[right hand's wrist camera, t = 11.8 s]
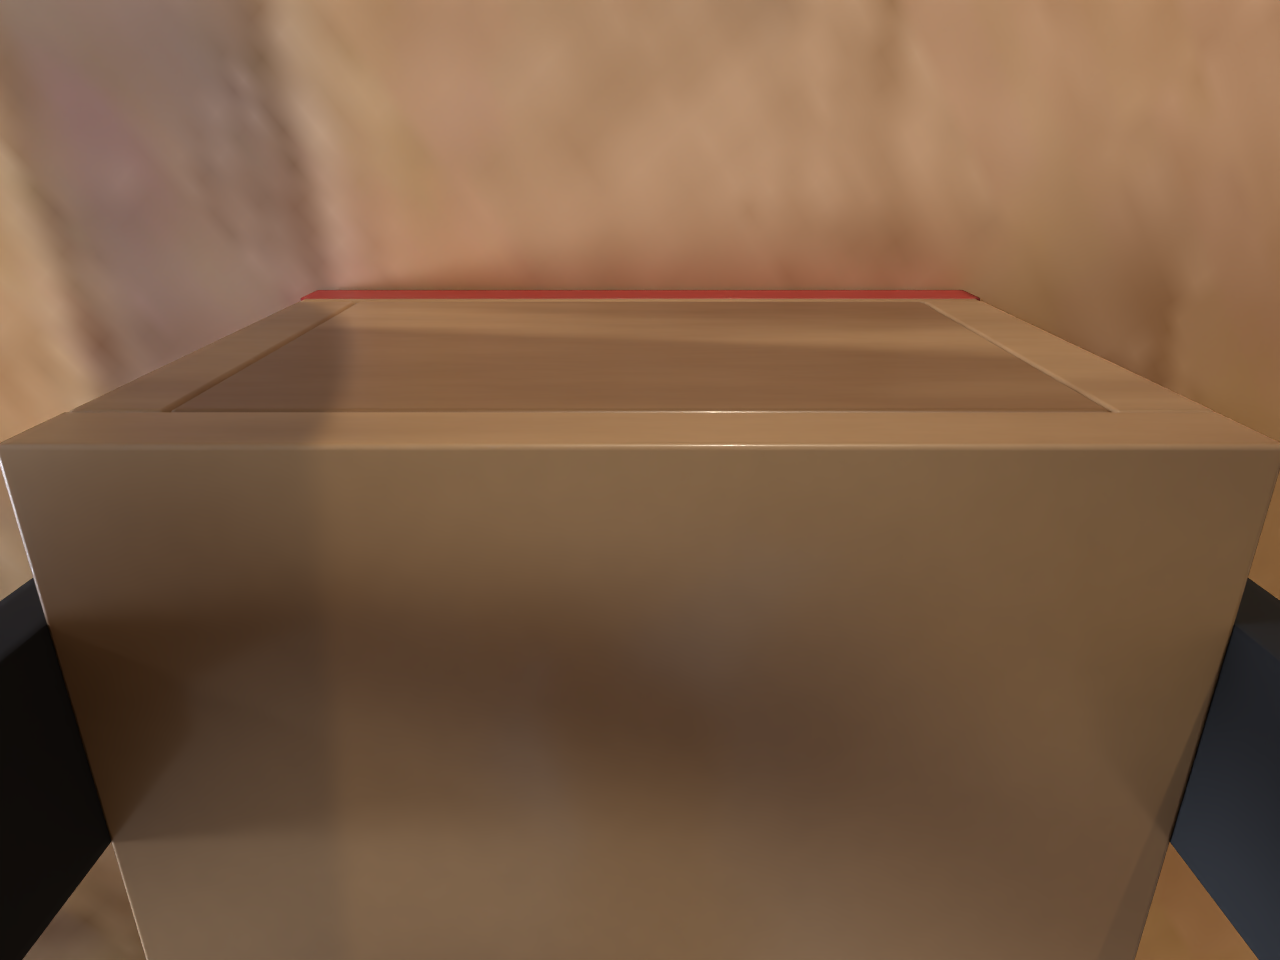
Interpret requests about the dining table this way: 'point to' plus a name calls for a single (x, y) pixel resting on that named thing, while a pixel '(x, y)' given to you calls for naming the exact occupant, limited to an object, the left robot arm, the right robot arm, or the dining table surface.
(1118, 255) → the dining table surface
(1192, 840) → the right robot arm
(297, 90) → the dining table surface
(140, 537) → the cabinet
